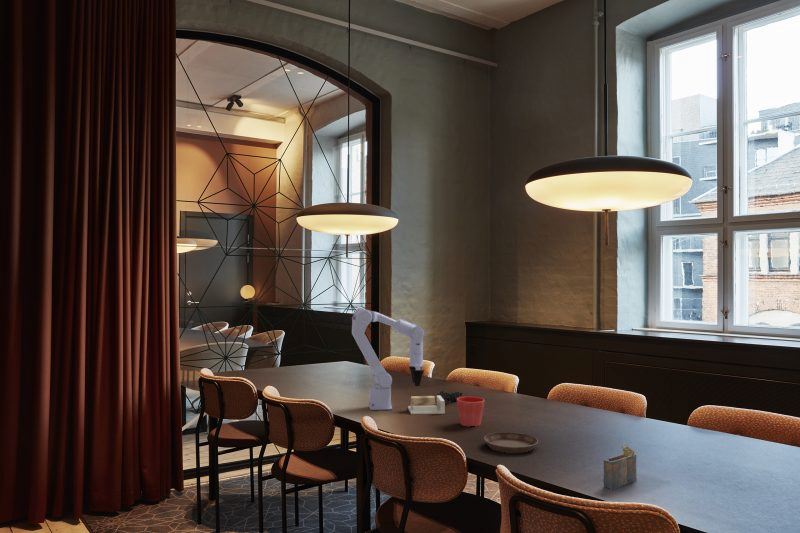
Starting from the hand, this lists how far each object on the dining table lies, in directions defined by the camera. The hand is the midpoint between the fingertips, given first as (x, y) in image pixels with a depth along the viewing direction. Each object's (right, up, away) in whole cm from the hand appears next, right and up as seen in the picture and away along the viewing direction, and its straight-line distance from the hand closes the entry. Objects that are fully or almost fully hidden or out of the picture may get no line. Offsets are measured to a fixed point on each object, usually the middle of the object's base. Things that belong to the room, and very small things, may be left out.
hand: (416, 384), depth 268 cm
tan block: (+3, -8, -10) cm, 13 cm away
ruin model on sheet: (+53, -8, -101) cm, 114 cm away
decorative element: (+14, -10, +5) cm, 18 cm away
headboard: (+4, -9, -10) cm, 14 cm away
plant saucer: (+30, -9, -65) cm, 72 cm away
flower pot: (+20, -9, -34) cm, 40 cm away
